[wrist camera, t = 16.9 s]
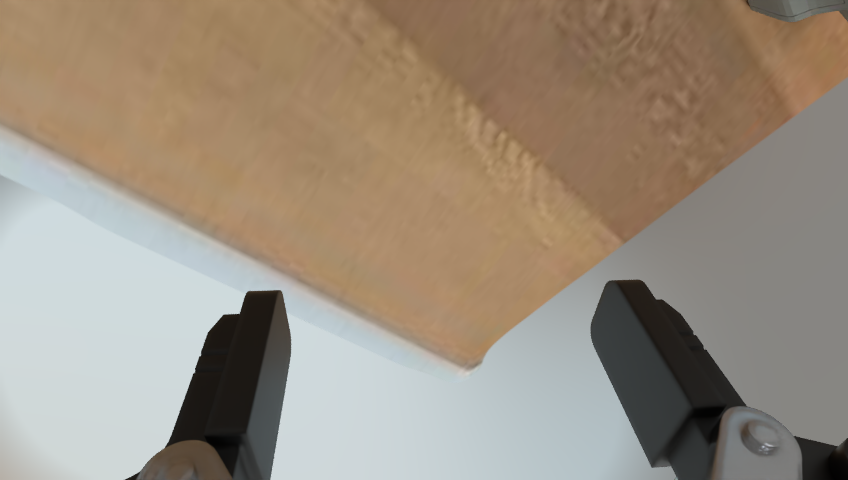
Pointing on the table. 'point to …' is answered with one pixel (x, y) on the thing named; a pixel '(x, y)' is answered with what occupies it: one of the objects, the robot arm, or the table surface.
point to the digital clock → (798, 8)
